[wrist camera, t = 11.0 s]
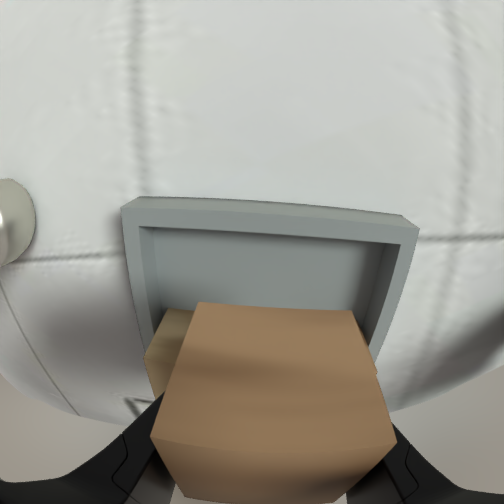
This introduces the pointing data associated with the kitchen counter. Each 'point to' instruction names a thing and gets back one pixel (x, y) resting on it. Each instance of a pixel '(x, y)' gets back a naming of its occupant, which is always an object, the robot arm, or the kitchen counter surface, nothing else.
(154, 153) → the kitchen counter surface
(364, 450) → the block
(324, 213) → the tray
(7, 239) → the plastic bottle
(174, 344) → the block
